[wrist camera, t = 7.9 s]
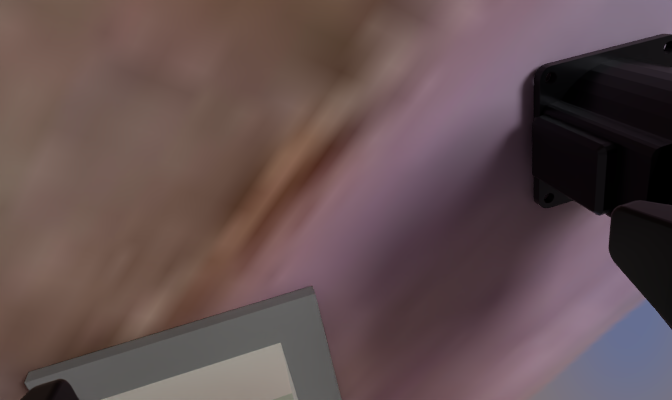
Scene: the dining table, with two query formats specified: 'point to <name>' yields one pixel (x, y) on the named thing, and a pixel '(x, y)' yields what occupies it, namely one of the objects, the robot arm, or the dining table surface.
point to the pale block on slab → (214, 359)
